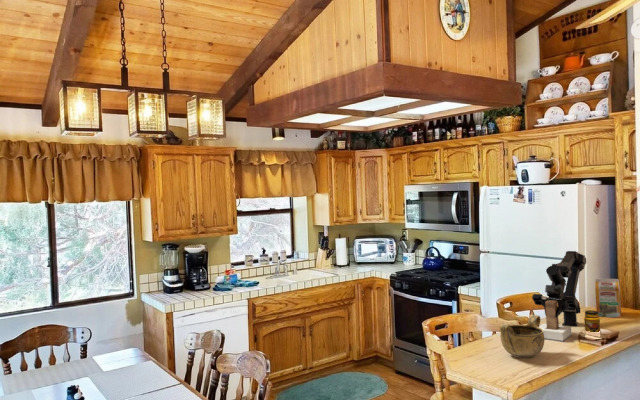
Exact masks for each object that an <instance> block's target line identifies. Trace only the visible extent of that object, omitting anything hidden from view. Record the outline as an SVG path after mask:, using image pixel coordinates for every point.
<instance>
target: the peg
mask: <svg viewBox="0 0 640 400" xmlns="http://www.w3.org/2000/svg"><path fill="white" fill-rule="evenodd" d="M545 308H546V315H545V319H546V321H545V322H546V323H545V324H547V329H552V330H558V329H559V325H560V324H559V316H558V317H556V311H557V308H558V303H557V301H552V300H548V301H546V302H545Z"/></svg>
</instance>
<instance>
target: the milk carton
mask: <svg viewBox="0 0 640 400" xmlns="http://www.w3.org/2000/svg"><path fill="white" fill-rule="evenodd" d="M594 281H595V286H594V287H595V288H594V289H595V290H594V291H595V306H596V307H595V309H596V310H595V311H597V312H598V317H599V318H605V317H606V318H608V319H622V302H621V289H620V280H619V279H618V278H595V280H594Z"/></svg>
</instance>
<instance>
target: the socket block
mask: <svg viewBox="0 0 640 400" xmlns="http://www.w3.org/2000/svg"><path fill="white" fill-rule="evenodd" d="M539 328H541V329H542V330H543V333H544V340H545V341H546V340H547V341H554V342H561V343H562V342H563V343H564V342H566V340H568V339H569V338H570V337H572V326H567V325H562V324H561V325H560V324H559V329H558V330H552V329H547V323H542V324H540V325H539Z"/></svg>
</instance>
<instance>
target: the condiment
mask: <svg viewBox="0 0 640 400" xmlns="http://www.w3.org/2000/svg"><path fill="white" fill-rule="evenodd" d="M583 319H584V331H585V330H586V331H590V332H599V331H600V332H601V321H600V317H598V312H597V310H592V309H591V310H590V309H588V310H585V311H584V317H583Z"/></svg>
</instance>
